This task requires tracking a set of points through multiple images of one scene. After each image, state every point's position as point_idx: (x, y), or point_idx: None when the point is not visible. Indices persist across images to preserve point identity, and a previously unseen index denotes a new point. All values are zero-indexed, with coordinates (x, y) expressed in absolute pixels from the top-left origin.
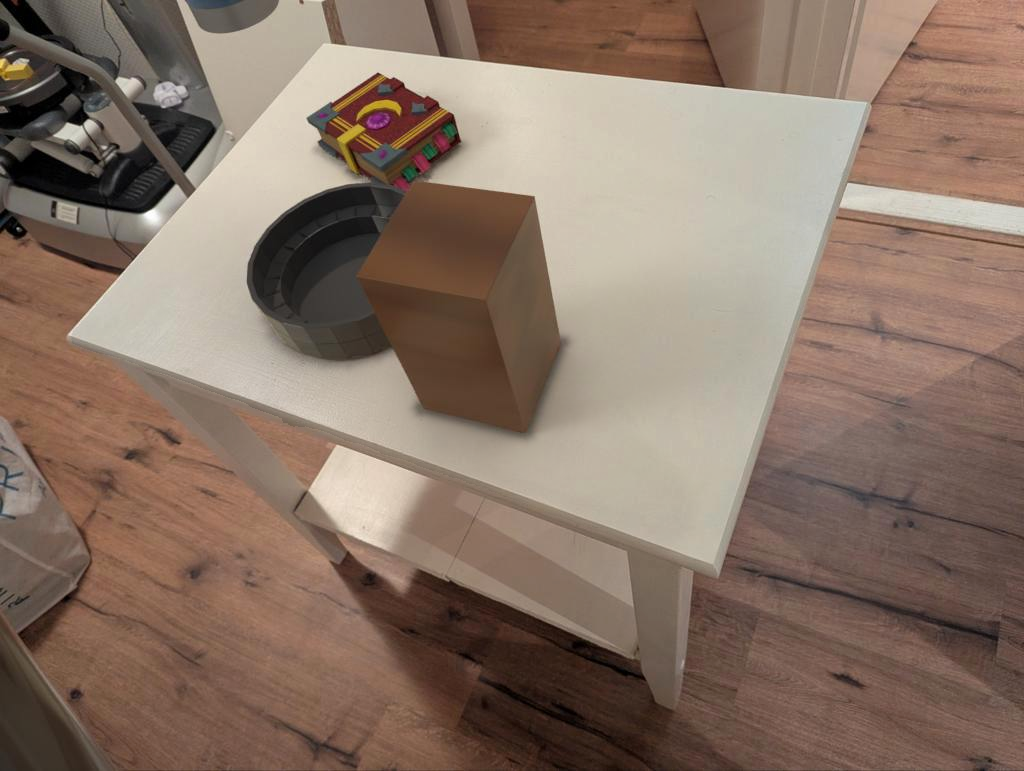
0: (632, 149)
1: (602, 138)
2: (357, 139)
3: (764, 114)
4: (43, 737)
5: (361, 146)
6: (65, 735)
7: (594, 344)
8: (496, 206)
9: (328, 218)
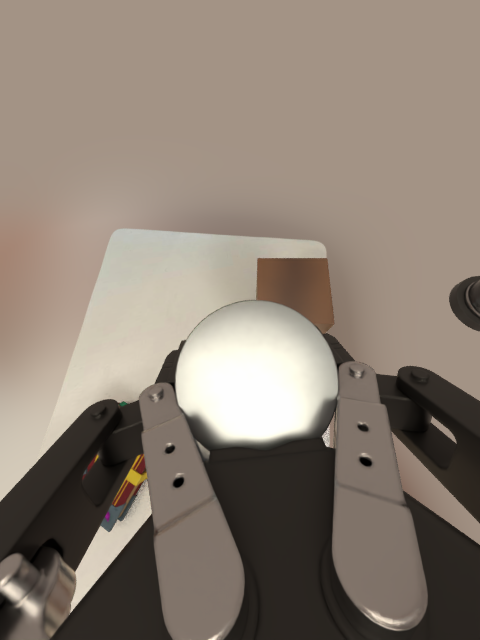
0: (133, 308)
1: (124, 324)
2: (136, 467)
3: (112, 259)
4: None
5: (143, 460)
6: None
7: (253, 294)
8: (268, 272)
9: (206, 458)
